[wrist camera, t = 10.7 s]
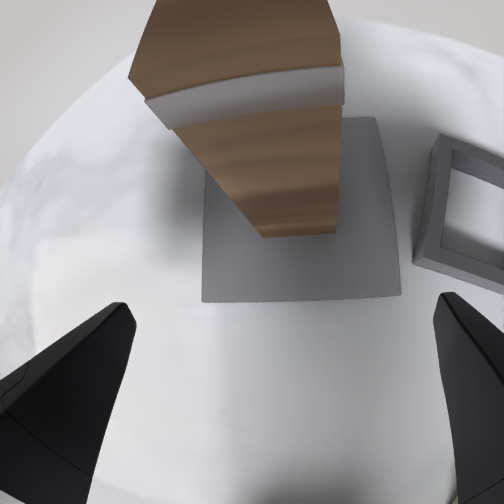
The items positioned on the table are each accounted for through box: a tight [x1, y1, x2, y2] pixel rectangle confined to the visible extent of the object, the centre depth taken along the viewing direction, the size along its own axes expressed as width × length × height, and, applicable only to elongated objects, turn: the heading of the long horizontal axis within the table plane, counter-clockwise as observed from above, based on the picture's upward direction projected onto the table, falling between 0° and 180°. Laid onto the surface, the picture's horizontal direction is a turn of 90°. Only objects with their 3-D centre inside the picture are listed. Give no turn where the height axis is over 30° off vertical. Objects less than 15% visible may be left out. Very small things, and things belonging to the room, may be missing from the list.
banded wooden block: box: [128, 0, 344, 238], centre depth 11 cm, size 4×4×13 cm
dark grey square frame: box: [413, 134, 504, 295], centre depth 14 cm, size 8×8×2 cm
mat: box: [202, 118, 401, 303], centre depth 18 cm, size 11×11×1 cm
